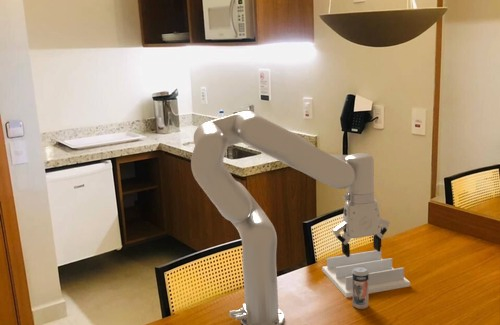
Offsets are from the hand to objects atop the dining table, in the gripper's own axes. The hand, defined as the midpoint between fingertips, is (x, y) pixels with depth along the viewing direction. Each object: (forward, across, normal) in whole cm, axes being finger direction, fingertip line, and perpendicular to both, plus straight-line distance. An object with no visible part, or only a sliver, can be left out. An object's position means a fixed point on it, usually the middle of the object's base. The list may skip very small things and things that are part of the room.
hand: (361, 252), depth 152 cm
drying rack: (+17, +8, +16) cm, 25 cm away
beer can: (+18, -1, 0) cm, 18 cm away
